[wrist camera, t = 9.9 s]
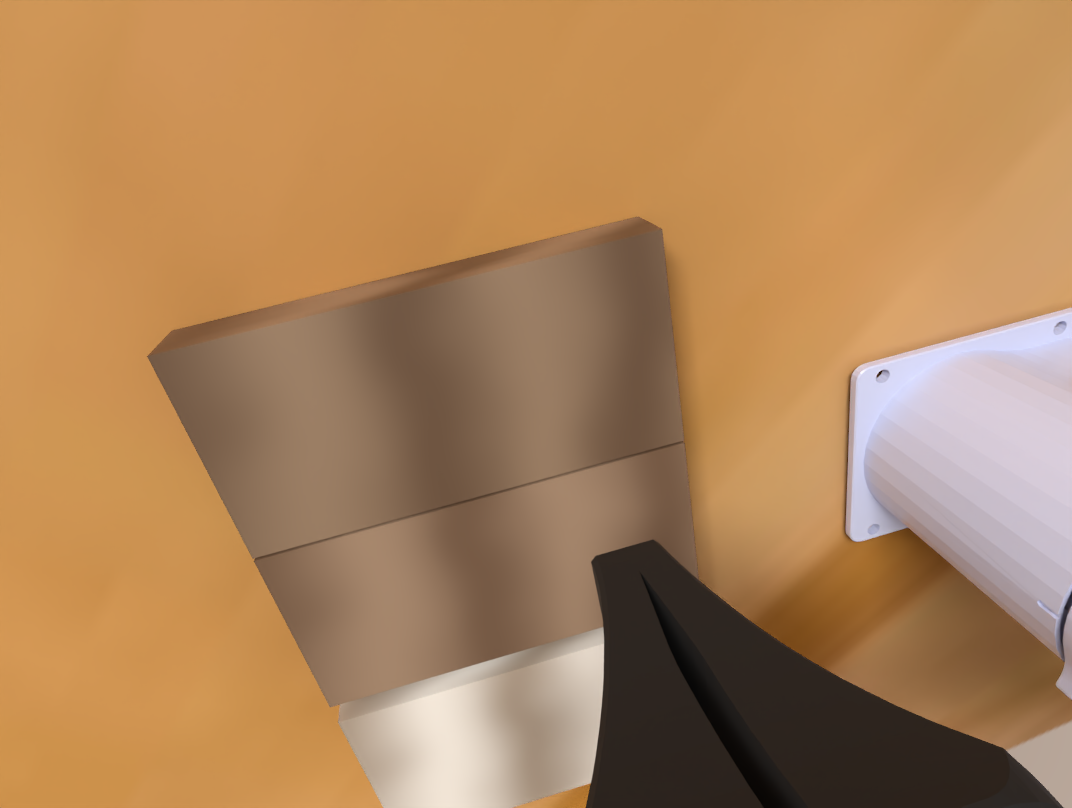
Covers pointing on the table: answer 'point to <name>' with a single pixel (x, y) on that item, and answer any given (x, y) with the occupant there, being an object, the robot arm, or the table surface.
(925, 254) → the table surface
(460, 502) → the walnut planks
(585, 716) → the ash plank
